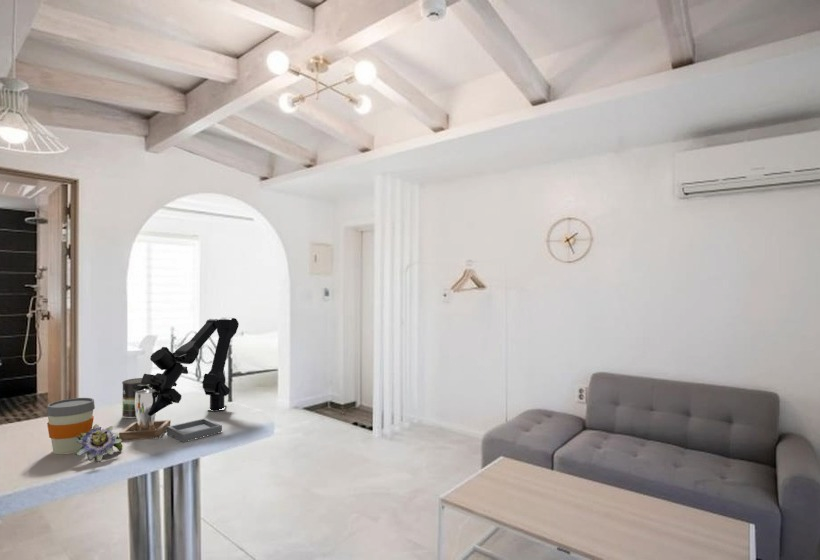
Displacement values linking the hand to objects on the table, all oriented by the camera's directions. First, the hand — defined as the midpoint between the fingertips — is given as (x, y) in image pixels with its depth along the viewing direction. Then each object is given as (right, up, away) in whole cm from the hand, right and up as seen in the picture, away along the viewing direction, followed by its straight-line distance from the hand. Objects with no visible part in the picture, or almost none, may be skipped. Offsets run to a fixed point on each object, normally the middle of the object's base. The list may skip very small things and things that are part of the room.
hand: (142, 414), depth 160 cm
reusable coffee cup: (-15, -7, -14) cm, 22 cm away
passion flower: (-1, -7, -21) cm, 22 cm away
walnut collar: (+1, -7, +1) cm, 7 cm away
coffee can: (-16, -7, +23) cm, 29 cm away
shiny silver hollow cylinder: (+1, -7, +1) cm, 7 cm away
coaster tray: (+18, -7, +2) cm, 19 cm away
